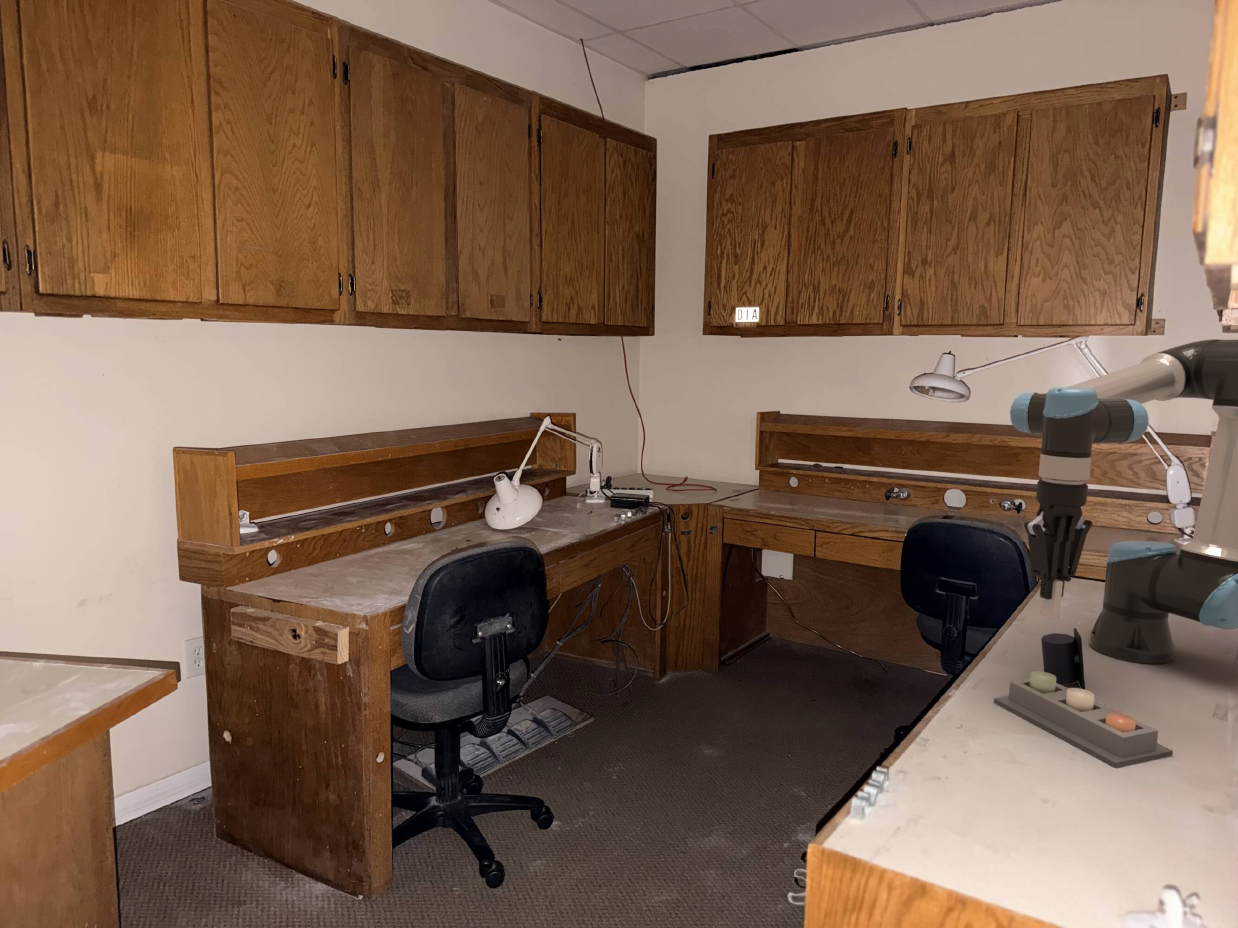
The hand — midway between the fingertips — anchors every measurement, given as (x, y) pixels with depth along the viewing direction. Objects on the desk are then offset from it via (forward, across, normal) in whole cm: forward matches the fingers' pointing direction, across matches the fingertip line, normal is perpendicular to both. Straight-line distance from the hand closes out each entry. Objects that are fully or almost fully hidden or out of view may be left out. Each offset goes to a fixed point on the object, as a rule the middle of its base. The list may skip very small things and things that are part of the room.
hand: (1049, 616), depth 143 cm
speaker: (+17, -13, -8) cm, 23 cm away
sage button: (+14, 0, 0) cm, 14 cm away
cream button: (+14, 0, +7) cm, 16 cm away
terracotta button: (+15, 0, +15) cm, 21 cm away
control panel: (+17, 0, +7) cm, 18 cm away
